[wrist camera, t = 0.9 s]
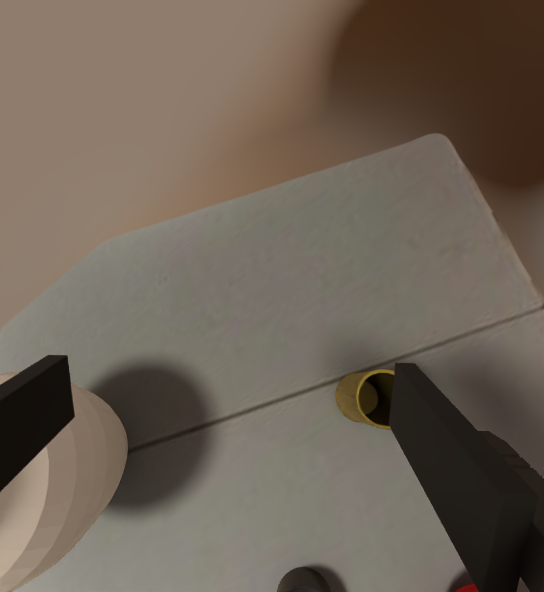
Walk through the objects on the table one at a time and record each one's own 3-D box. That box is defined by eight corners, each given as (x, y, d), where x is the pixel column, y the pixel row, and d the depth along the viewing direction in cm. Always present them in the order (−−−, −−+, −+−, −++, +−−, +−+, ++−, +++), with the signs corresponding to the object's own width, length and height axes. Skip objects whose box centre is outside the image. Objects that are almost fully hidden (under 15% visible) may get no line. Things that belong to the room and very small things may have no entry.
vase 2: (389, 416, 43) (430, 427, 30) (341, 426, 44) (360, 441, 30) (376, 368, 45) (409, 357, 31) (330, 377, 45) (343, 371, 32)
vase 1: (21, 414, 47) (-268, 435, 23) (139, 357, 48) (-21, 320, 24) (53, 552, 42) (-271, 759, 18) (185, 485, 43) (40, 600, 19)
